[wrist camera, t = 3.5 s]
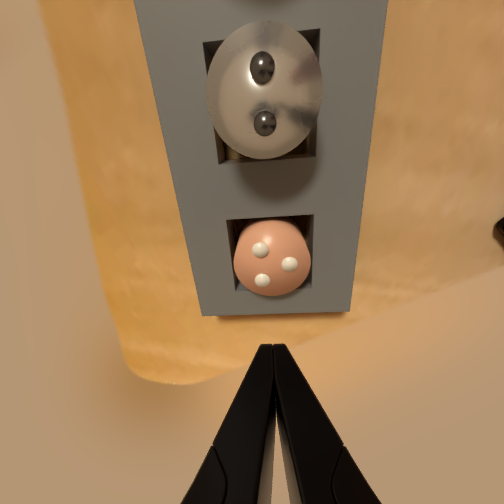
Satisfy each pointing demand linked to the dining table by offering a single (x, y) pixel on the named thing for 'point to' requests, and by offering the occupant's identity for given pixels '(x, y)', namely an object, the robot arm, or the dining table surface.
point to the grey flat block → (274, 169)
